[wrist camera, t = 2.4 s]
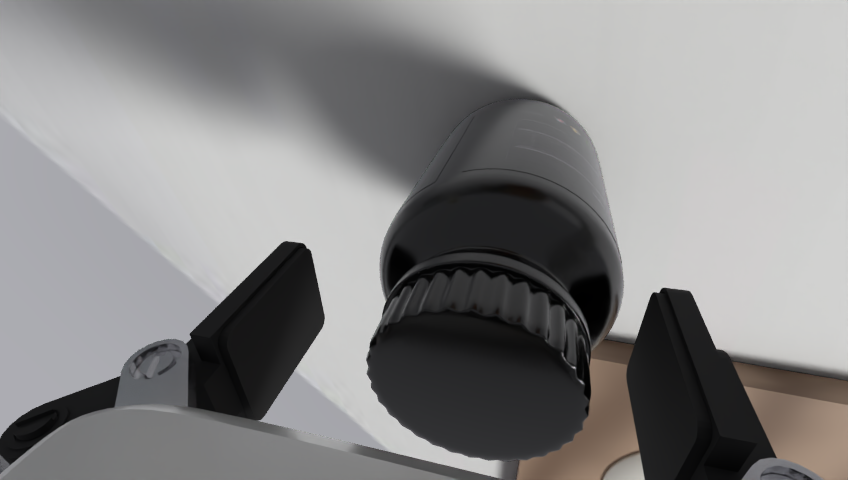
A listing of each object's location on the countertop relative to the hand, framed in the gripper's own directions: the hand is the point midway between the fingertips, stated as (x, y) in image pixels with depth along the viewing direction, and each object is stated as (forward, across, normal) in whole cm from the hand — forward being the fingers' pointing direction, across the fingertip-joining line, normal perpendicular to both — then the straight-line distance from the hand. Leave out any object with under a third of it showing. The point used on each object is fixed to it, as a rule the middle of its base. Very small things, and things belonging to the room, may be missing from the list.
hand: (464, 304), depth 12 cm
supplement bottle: (+9, -1, 0) cm, 9 cm away
